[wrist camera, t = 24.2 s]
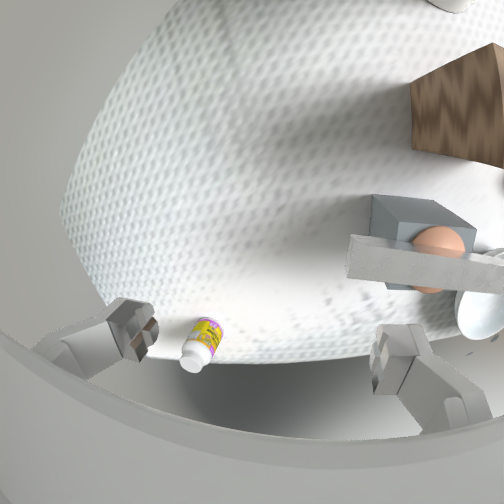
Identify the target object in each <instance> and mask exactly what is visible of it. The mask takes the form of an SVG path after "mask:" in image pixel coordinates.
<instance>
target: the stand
mask: <svg viewBox="0 0 504 504" xmlns="http://www.w3.org/2000/svg"><path fill="white" fill-rule="evenodd" d="M410 88H411V104H412V149H413V150H419V151H426V152H431V153H437V154H443V155H448V156H453V157H458V158H462V159H467V160H471V161H475V162H479V163H483V164H487V165H491V166H495V167H498V168H502V169H504V48H503V47H501V46H499V45H497V44H495V43H491V44H488V45H486V46H484V47H482V48H479V49H477V50H475V51H473V52H470V53H468V54H466V55H464V56H462V57H460V58H458V59H456V60H454V61H451V62H449V63H447V64H445V65H443V66H441V67H439V68H437V69H435V70H434V71H432V72H430V73H428V74H426V75H424V76H422V77H420V78H418V79H416V80H415V81H413V82H411V83H410Z"/></svg>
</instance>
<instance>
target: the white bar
mask: <svg viewBox="0 0 504 504" xmlns="http://www.w3.org/2000/svg"><path fill="white" fill-rule="evenodd" d="M345 270H346V275H347V278H352V279H360V280H369V281H377V282H386V283H395V284H403V285H412V286H422V287H431V288H440V289H450V290H459V291H469V292H479V293H490V294H500V295H503V294H504V259H502V258H497V257H492V256H487V255H481V254H476V253H470V252H465V251H459V250H453V249H447V248H442V247H436V246H429V245H423V244H417V243H411V242H404V241H398V240H391V239H384V238H377V237H370V236H363V235H356V234H351V235H350V241H349V246H348V252H347V257H346V262H345Z"/></svg>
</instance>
